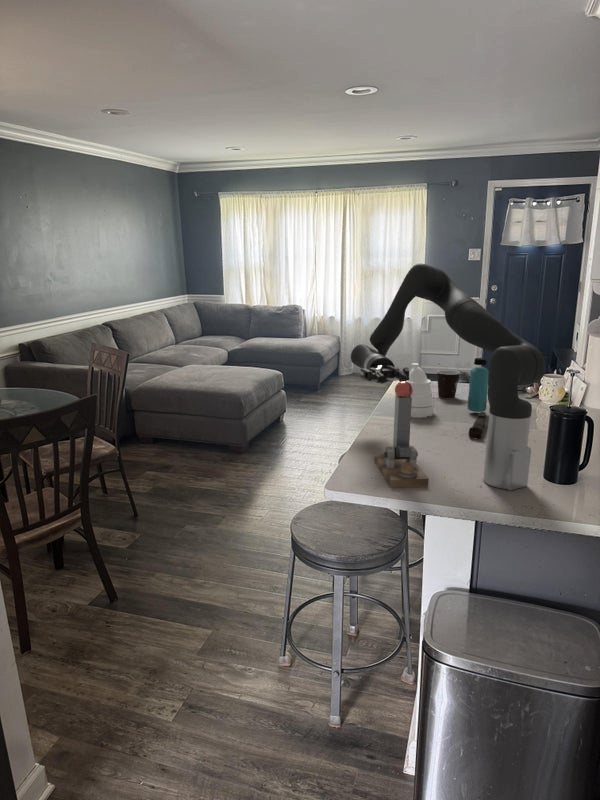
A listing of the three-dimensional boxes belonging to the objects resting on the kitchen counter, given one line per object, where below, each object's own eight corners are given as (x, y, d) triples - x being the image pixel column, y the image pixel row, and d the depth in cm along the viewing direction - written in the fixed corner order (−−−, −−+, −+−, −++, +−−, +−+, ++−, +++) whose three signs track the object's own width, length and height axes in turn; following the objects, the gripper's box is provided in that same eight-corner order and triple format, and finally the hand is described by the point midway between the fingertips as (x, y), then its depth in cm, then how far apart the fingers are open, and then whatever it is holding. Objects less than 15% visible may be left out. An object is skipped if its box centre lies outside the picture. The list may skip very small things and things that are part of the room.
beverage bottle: (489, 415, 191) (495, 359, 186) (474, 417, 188) (479, 360, 184) (477, 410, 197) (482, 356, 192) (462, 412, 194) (466, 357, 190)
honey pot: (424, 419, 185) (427, 367, 181) (390, 413, 192) (392, 363, 188) (438, 411, 196) (441, 362, 191) (405, 406, 203) (408, 358, 198)
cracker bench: (374, 461, 145) (375, 438, 144) (407, 460, 146) (408, 437, 144) (390, 487, 128) (392, 461, 126) (428, 486, 129) (429, 460, 127)
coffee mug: (445, 393, 223) (447, 369, 221) (462, 397, 216) (464, 373, 214) (425, 397, 217) (427, 372, 215) (442, 401, 210) (444, 376, 208)
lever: (389, 456, 138) (393, 379, 133) (406, 455, 138) (410, 379, 134) (396, 465, 132) (400, 385, 127) (413, 464, 132) (418, 384, 127)
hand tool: (481, 440, 164) (482, 426, 162) (467, 438, 165) (469, 424, 164) (491, 425, 180) (492, 411, 179) (478, 423, 182) (480, 410, 181)
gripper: (354, 355, 157) (366, 365, 140) (403, 354, 158) (420, 365, 141) (354, 380, 158) (365, 393, 142) (402, 380, 160) (419, 393, 143)
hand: (393, 379), depth 142 cm, fingers open, 5 cm apart
